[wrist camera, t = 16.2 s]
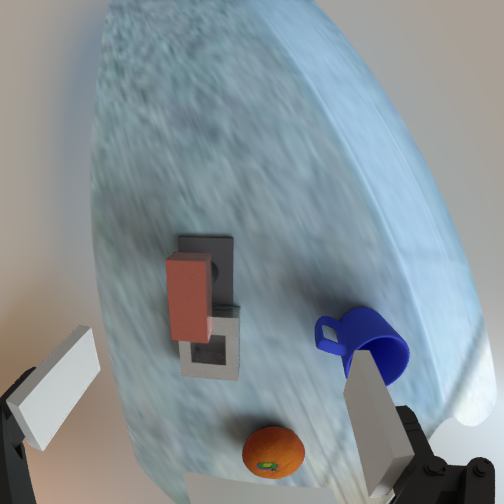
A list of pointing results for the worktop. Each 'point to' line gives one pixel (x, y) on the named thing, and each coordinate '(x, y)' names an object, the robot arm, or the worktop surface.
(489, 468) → the robot arm
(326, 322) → the mug
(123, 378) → the worktop surface
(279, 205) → the worktop surface
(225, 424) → the worktop surface
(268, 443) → the fruit
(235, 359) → the block
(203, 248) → the mat
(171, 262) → the key
